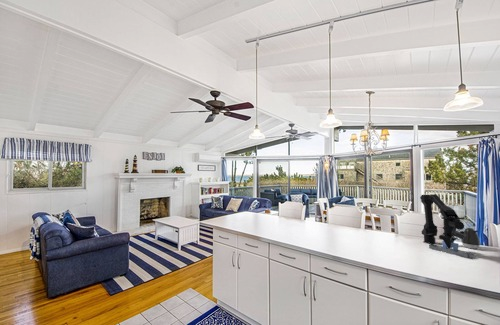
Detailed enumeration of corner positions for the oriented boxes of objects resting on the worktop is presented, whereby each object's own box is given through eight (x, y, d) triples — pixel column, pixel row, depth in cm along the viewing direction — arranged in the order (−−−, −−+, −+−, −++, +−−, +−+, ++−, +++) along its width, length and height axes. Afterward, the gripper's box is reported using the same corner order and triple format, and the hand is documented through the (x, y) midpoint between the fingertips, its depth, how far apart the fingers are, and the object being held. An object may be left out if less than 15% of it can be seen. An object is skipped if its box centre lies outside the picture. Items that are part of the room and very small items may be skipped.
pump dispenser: (475, 250, 161) (473, 230, 162) (458, 246, 171) (457, 226, 172) (484, 249, 164) (483, 229, 165) (467, 245, 174) (466, 225, 175)
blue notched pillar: (442, 249, 160) (442, 241, 160) (444, 248, 162) (443, 240, 162) (456, 253, 153) (456, 244, 154) (458, 252, 155) (458, 243, 155)
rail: (428, 248, 166) (428, 245, 166) (431, 247, 169) (431, 243, 169) (471, 258, 145) (471, 255, 146) (474, 257, 148) (474, 253, 149)
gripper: (458, 230, 147) (460, 254, 146) (468, 227, 156) (469, 249, 155) (438, 227, 156) (439, 249, 156) (448, 224, 166) (449, 244, 165)
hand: (450, 248), depth 158 cm, fingers closed on blue notched pillar, 3 cm apart
